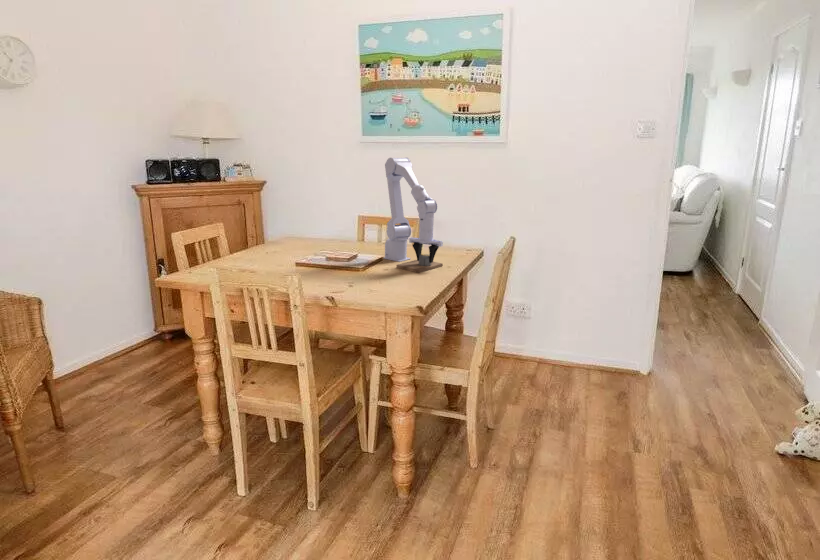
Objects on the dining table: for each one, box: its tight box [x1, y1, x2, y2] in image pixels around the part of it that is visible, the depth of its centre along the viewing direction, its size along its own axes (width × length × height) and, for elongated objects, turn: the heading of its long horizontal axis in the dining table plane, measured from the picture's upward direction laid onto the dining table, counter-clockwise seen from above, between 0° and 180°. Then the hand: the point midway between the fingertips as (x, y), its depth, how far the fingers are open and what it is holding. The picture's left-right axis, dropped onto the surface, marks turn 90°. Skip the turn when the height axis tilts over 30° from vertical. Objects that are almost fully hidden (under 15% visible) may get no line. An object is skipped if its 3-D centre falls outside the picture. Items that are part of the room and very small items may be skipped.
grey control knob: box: [419, 253, 431, 266], centre depth 235 cm, size 5×5×4 cm
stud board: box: [396, 259, 444, 274], centre depth 235 cm, size 12×16×4 cm
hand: (425, 261), depth 235 cm, fingers closed on grey control knob, 5 cm apart
